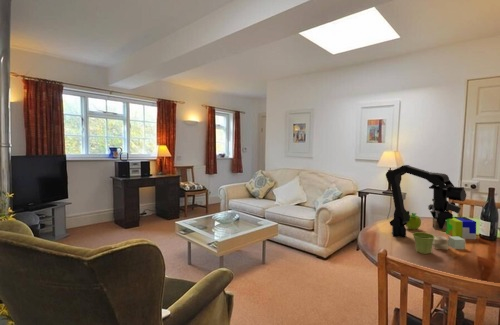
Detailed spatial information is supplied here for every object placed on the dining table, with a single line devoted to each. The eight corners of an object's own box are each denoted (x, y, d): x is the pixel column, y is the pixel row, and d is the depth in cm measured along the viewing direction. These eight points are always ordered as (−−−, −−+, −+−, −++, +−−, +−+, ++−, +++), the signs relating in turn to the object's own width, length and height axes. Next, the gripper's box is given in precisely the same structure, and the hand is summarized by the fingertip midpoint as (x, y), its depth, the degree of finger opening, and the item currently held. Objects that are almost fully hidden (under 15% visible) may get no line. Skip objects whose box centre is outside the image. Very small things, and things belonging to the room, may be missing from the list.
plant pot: (435, 257, 125) (435, 239, 125) (412, 253, 130) (412, 236, 130) (434, 250, 133) (434, 233, 133) (412, 247, 138) (412, 231, 138)
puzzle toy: (476, 239, 145) (476, 221, 145) (455, 238, 147) (455, 221, 147) (465, 233, 155) (465, 217, 154) (446, 232, 157) (446, 216, 156)
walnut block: (435, 230, 134) (435, 220, 134) (432, 227, 139) (432, 218, 139) (446, 231, 133) (447, 221, 132) (443, 228, 137) (443, 218, 137)
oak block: (434, 248, 135) (434, 239, 135) (431, 244, 140) (431, 235, 140) (448, 250, 133) (448, 240, 132) (444, 245, 138) (444, 236, 138)
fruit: (422, 228, 166) (421, 213, 166) (419, 232, 160) (419, 216, 159) (405, 225, 173) (405, 211, 172) (402, 229, 166) (402, 214, 165)
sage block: (454, 249, 133) (454, 239, 133) (448, 245, 138) (448, 236, 138) (465, 249, 133) (465, 239, 132) (458, 245, 138) (458, 236, 137)
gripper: (466, 202, 123) (465, 234, 124) (452, 195, 140) (451, 223, 141) (438, 201, 127) (437, 232, 128) (428, 194, 144) (427, 221, 146)
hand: (439, 227), depth 136 cm, fingers closed on walnut block, 5 cm apart
